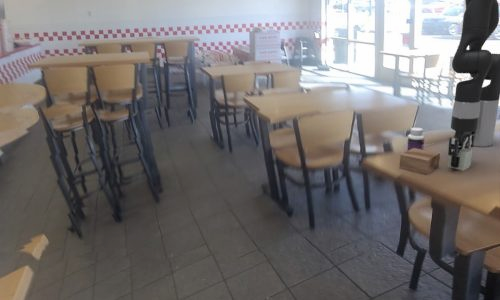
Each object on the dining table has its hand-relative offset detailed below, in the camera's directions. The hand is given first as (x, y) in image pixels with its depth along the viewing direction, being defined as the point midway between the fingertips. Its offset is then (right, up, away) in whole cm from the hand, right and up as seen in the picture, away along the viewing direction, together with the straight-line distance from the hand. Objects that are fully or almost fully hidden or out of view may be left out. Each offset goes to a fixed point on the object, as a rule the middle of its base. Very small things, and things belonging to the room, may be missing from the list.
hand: (459, 163), depth 133 cm
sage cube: (0, -1, 0) cm, 1 cm away
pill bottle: (-10, +3, +13) cm, 16 cm away
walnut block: (-13, -1, +2) cm, 13 cm away
